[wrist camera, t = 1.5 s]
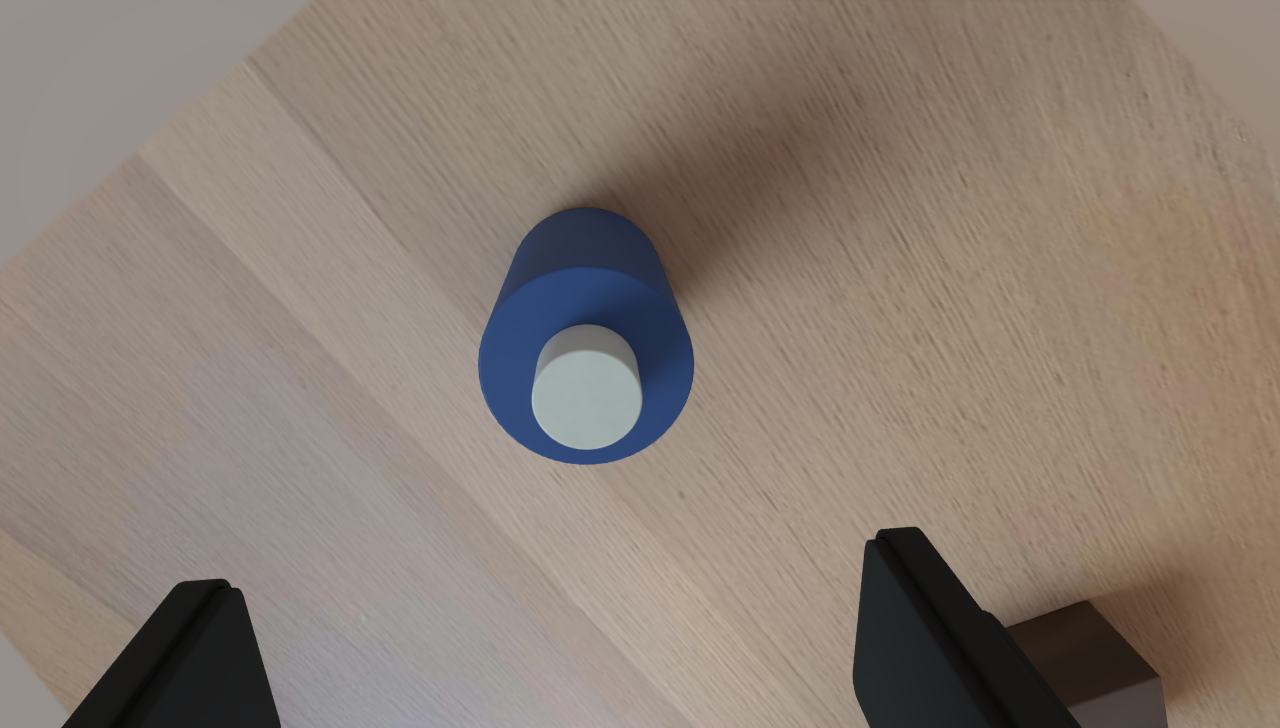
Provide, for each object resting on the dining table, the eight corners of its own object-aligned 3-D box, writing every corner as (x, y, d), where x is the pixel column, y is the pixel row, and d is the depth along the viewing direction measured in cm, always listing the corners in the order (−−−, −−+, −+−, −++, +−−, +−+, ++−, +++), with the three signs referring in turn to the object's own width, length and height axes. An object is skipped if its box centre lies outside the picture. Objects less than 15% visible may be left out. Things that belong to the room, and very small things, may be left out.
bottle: (502, 211, 27) (451, 293, 17) (661, 203, 27) (705, 280, 17) (517, 359, 29) (481, 510, 19) (664, 351, 30) (705, 495, 19)
